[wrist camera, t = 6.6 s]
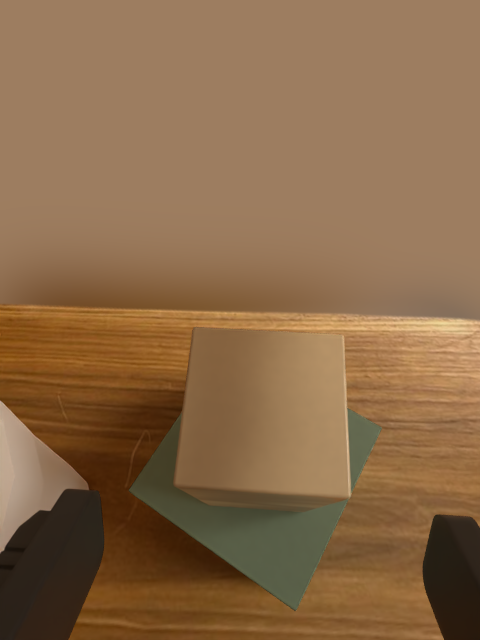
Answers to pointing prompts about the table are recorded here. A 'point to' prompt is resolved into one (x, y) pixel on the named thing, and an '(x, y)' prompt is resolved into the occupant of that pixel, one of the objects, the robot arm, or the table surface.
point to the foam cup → (28, 475)
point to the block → (265, 420)
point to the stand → (254, 519)
